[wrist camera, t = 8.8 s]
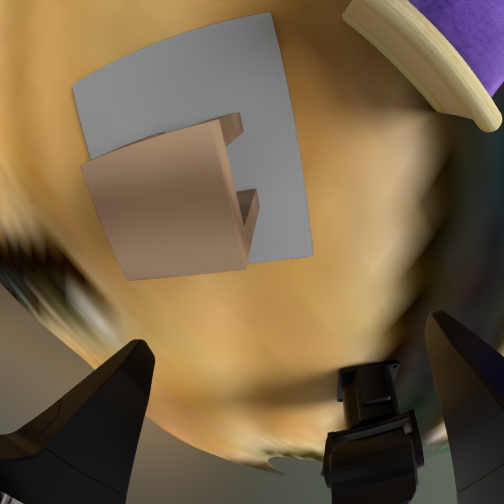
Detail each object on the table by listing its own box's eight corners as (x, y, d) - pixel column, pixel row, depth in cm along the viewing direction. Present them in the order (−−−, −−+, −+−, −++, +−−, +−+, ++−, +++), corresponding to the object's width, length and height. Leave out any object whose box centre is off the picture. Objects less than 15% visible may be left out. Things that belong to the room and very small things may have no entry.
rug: (313, 253, 20) (313, 256, 19) (137, 272, 22) (135, 275, 22) (270, 14, 12) (270, 12, 11) (75, 84, 14) (72, 84, 14)
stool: (259, 206, 18) (245, 269, 12) (173, 220, 19) (126, 281, 13) (239, 112, 15) (209, 122, 9) (147, 136, 16) (80, 165, 10)
